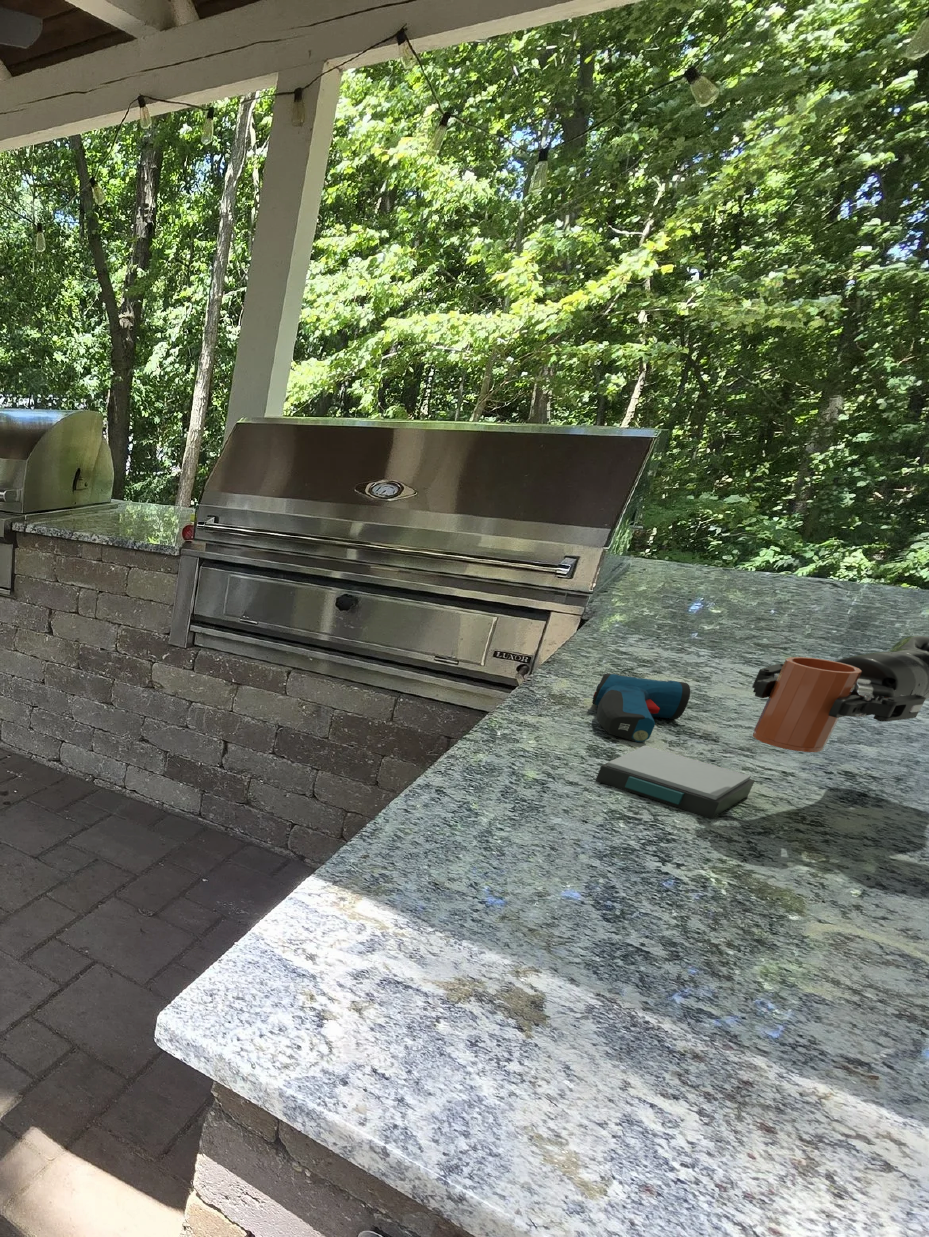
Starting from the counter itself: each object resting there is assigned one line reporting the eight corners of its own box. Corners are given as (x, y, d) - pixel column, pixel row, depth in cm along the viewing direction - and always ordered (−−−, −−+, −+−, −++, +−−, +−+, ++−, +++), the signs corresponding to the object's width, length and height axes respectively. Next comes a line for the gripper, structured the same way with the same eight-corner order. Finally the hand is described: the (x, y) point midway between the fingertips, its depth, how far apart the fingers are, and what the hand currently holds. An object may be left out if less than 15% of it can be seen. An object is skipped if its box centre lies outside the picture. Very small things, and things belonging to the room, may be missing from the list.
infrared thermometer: (718, 721, 121) (685, 677, 136) (610, 705, 127) (590, 665, 142) (701, 758, 124) (670, 711, 139) (596, 741, 129) (578, 698, 145)
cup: (829, 745, 97) (868, 667, 93) (813, 756, 94) (852, 676, 90) (762, 729, 102) (796, 654, 98) (744, 738, 99) (778, 661, 95)
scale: (747, 795, 110) (757, 776, 109) (710, 819, 103) (719, 799, 102) (634, 761, 120) (641, 743, 119) (593, 781, 114) (601, 762, 112)
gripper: (811, 639, 105) (736, 651, 100) (971, 671, 93) (896, 688, 87) (787, 692, 108) (712, 707, 103) (939, 731, 96) (863, 750, 90)
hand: (797, 698), depth 95 cm, fingers closed on cup, 6 cm apart
